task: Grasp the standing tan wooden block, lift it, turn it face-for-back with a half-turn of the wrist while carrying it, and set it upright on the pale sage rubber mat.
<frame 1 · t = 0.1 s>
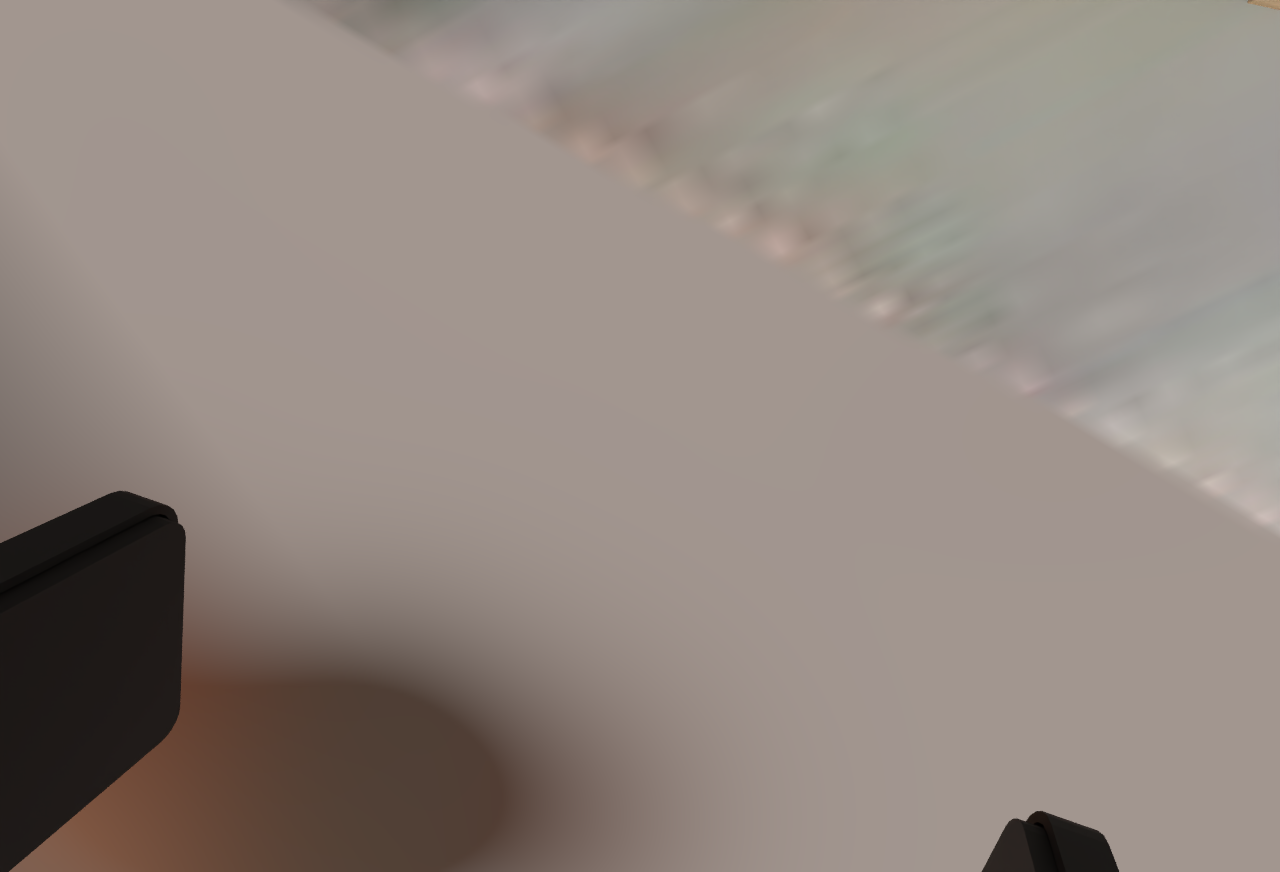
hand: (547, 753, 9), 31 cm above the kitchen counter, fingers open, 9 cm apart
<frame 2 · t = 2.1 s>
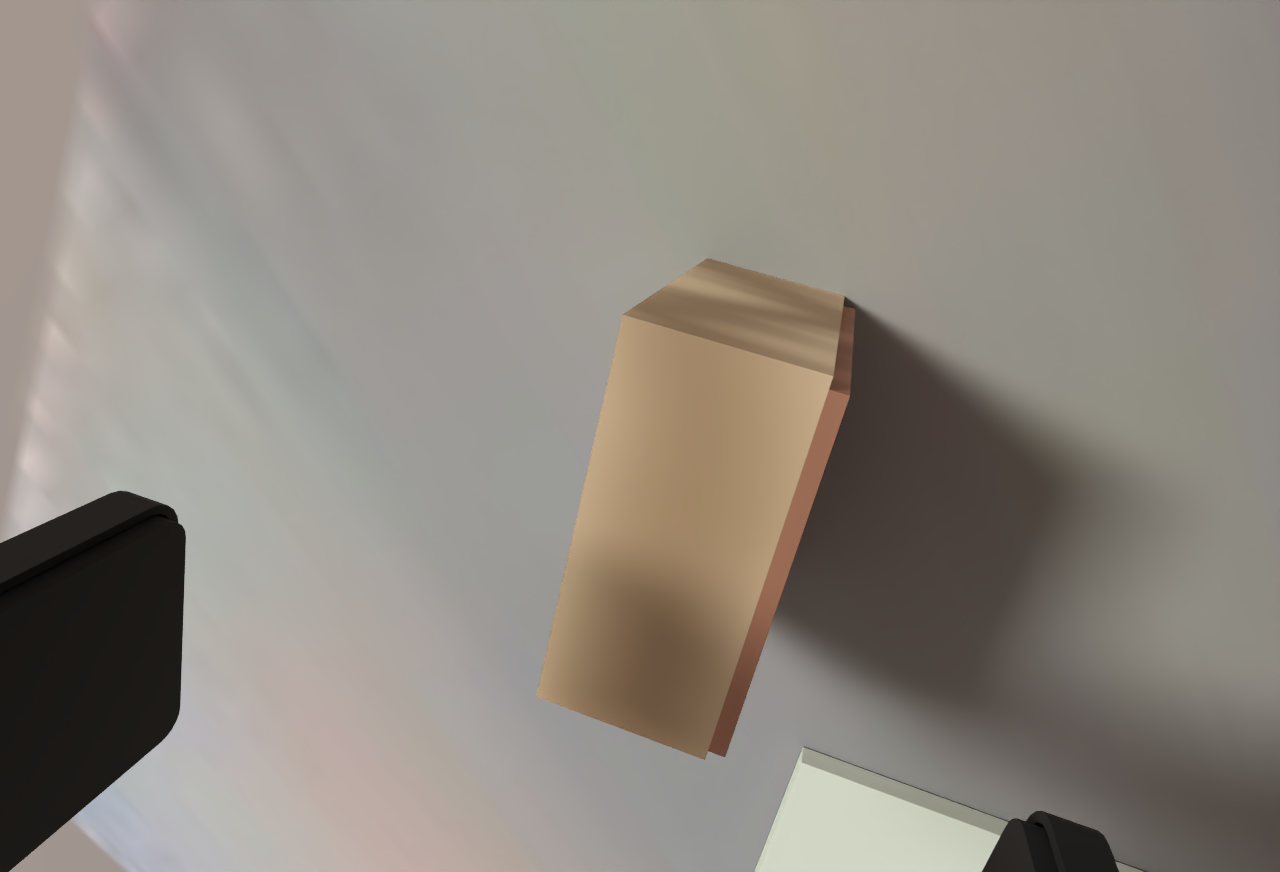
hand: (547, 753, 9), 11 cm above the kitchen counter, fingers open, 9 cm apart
tan wooden block: (809, 445, 19), on the kitchen counter
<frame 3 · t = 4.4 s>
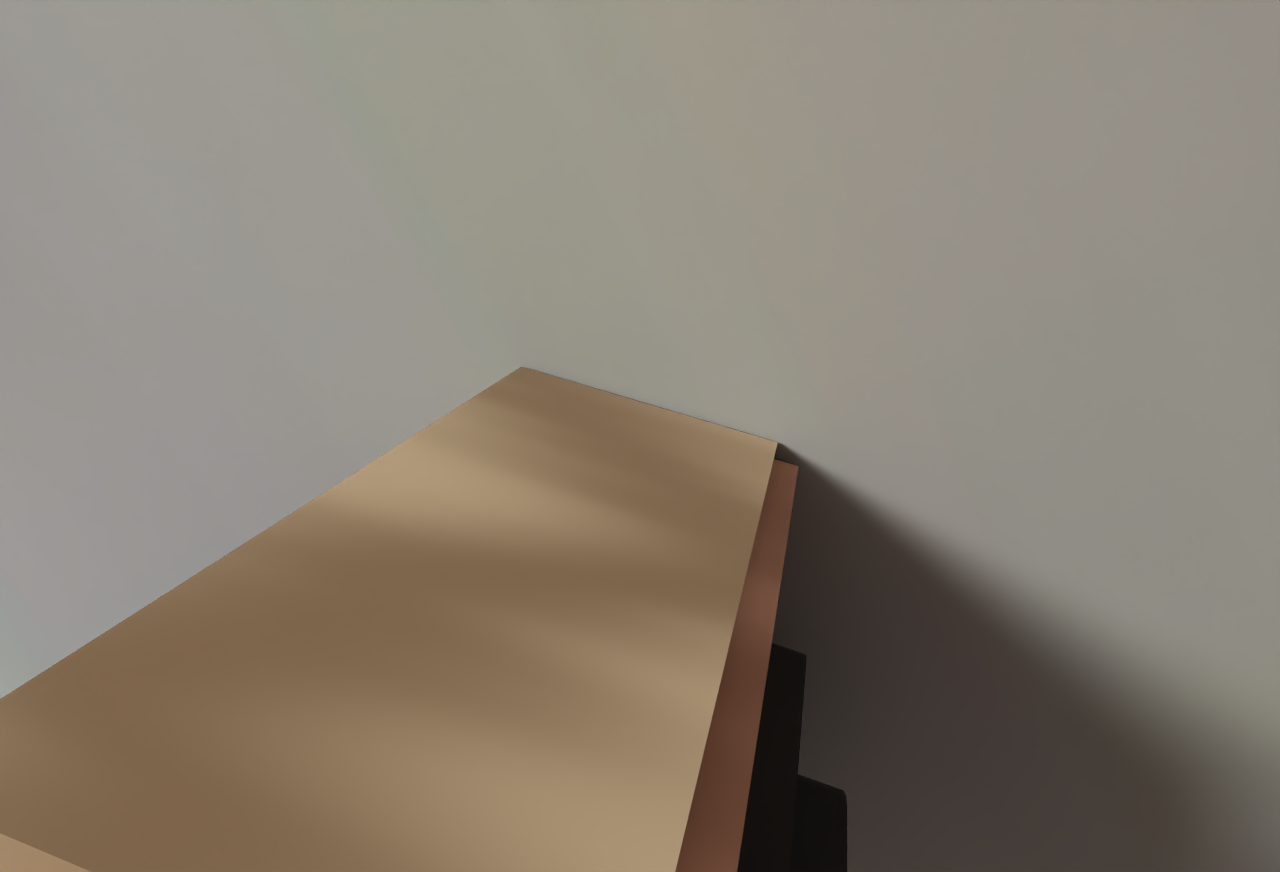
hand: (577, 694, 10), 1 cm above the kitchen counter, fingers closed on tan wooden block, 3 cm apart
tan wooden block: (723, 698, 10), on the kitchen counter, touching gripper
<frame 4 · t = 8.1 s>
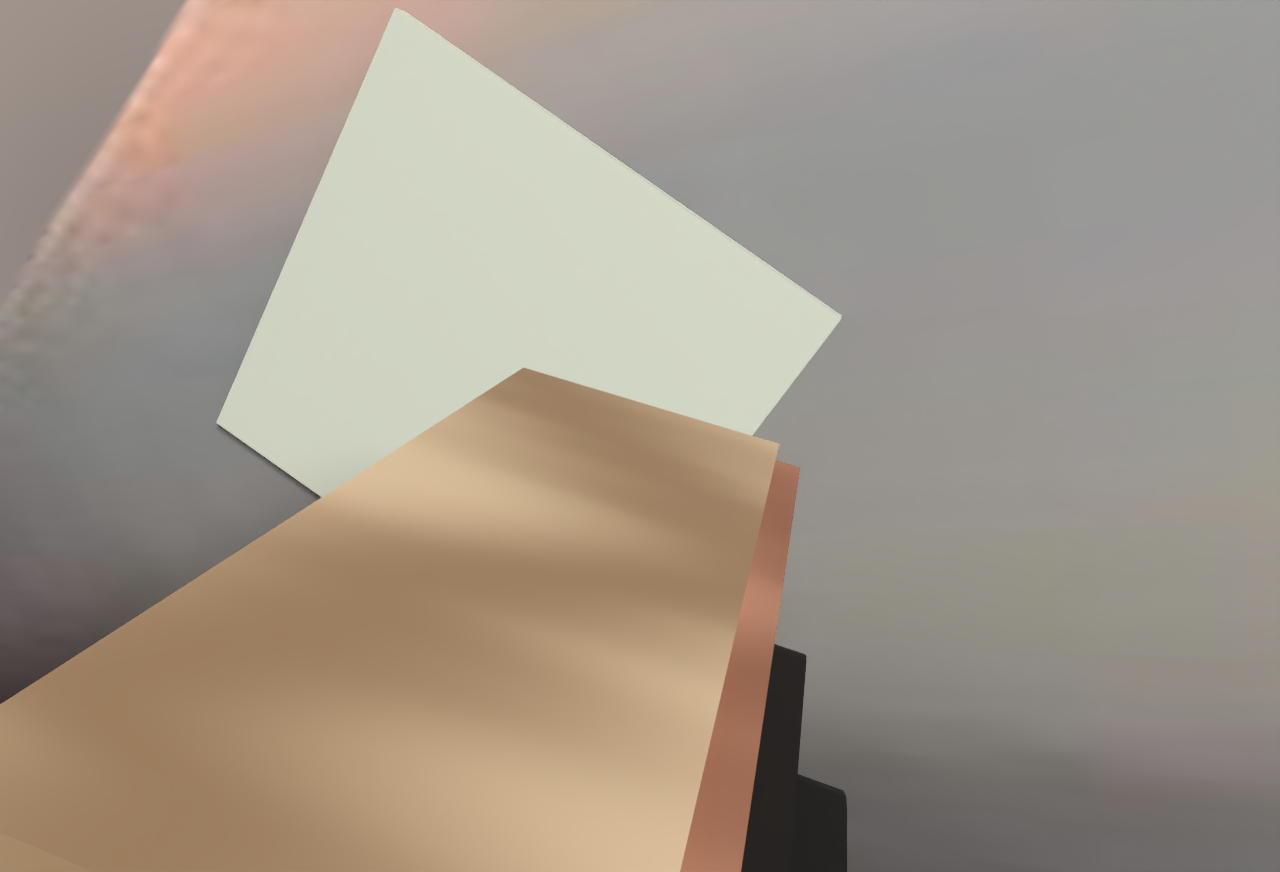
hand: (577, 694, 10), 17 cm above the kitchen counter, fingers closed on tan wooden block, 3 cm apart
tan wooden block: (724, 699, 10), point 16 cm above the kitchen counter, touching gripper
mat: (499, 372, 28), on the kitchen counter
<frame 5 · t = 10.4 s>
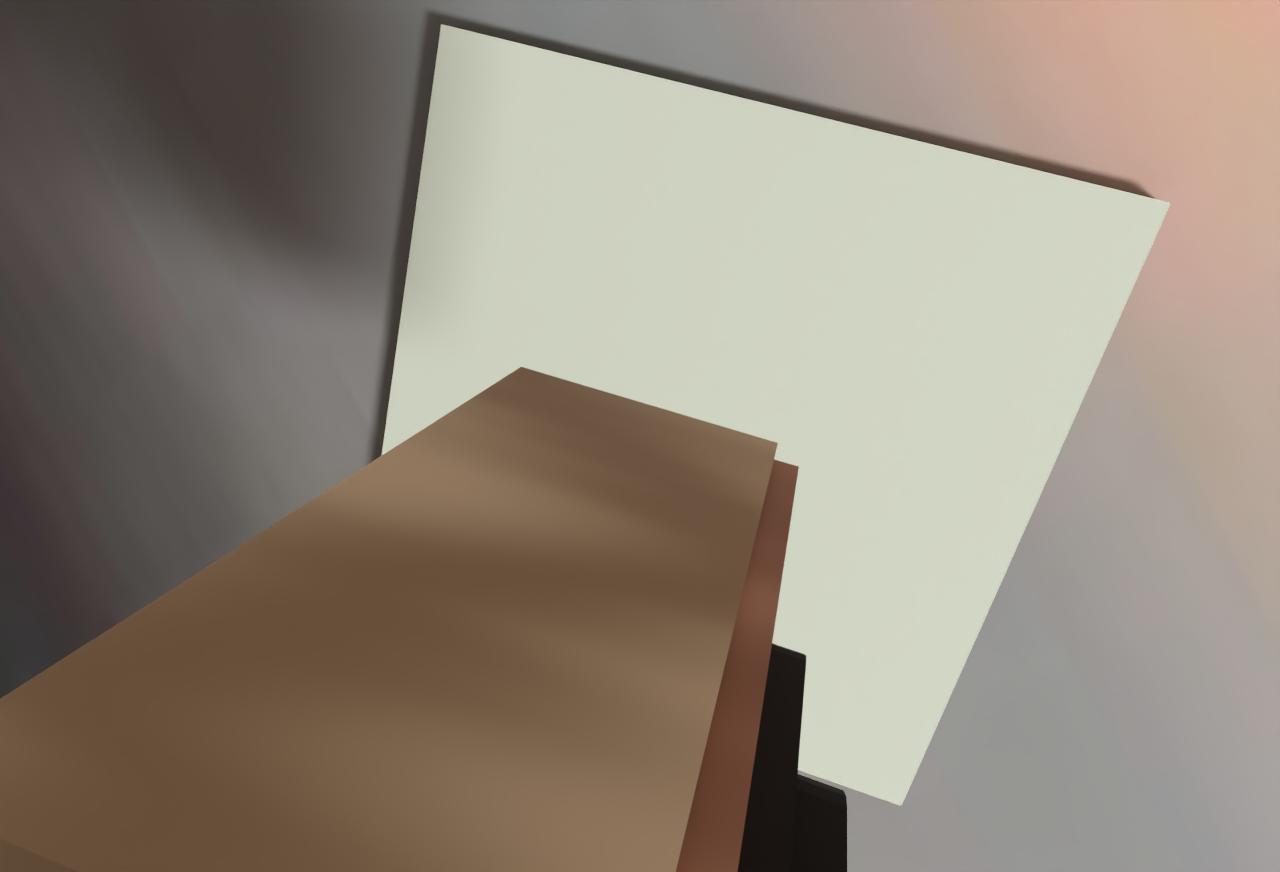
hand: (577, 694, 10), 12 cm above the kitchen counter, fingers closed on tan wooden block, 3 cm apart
tan wooden block: (723, 699, 10), point 11 cm above the kitchen counter, touching gripper
mat: (694, 440, 21), on the kitchen counter
when the fingers open (2 cm above the kitchen counter, at t = 12.2 s): tan wooden block stays where it is, resting on mat.
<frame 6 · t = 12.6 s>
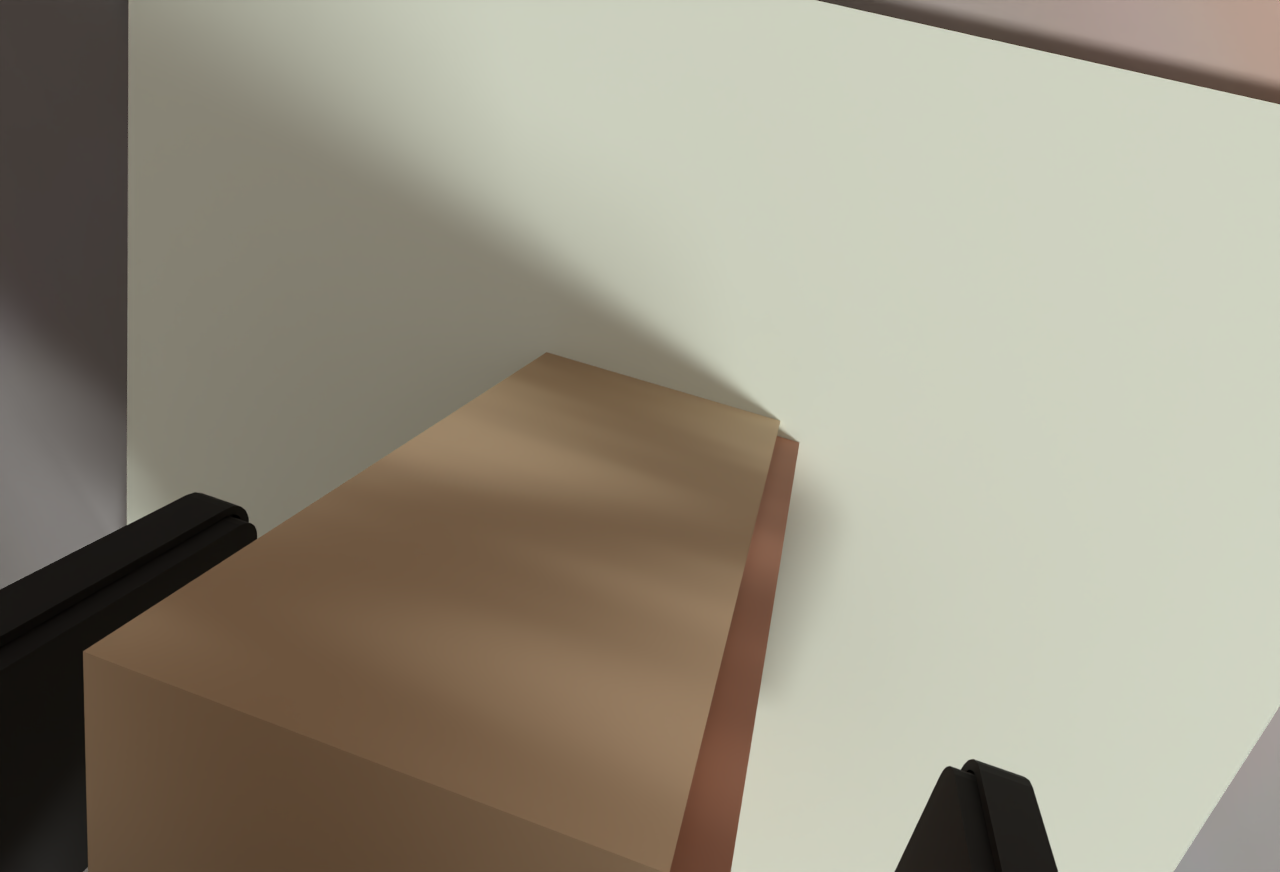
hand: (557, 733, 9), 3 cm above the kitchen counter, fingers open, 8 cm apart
tan wooden block: (729, 658, 11), point 1 cm above the kitchen counter, touching mat
mat: (626, 595, 12), on the kitchen counter
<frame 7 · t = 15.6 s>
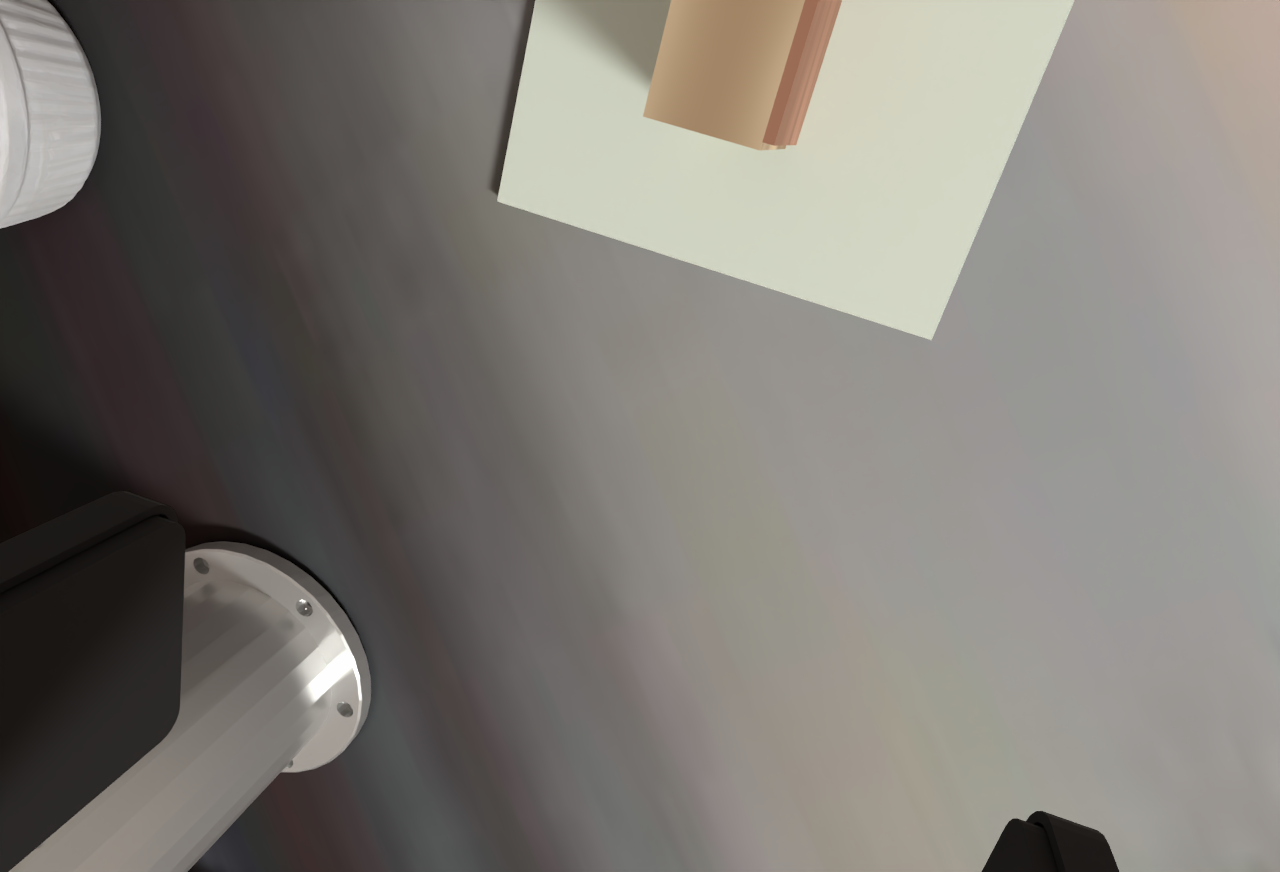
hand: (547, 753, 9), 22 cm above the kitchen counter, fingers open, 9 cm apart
tan wooden block: (830, 35, 25), point 1 cm above the kitchen counter, touching mat
mat: (781, 22, 26), on the kitchen counter
ramekin: (20, 94, 35), on the kitchen counter
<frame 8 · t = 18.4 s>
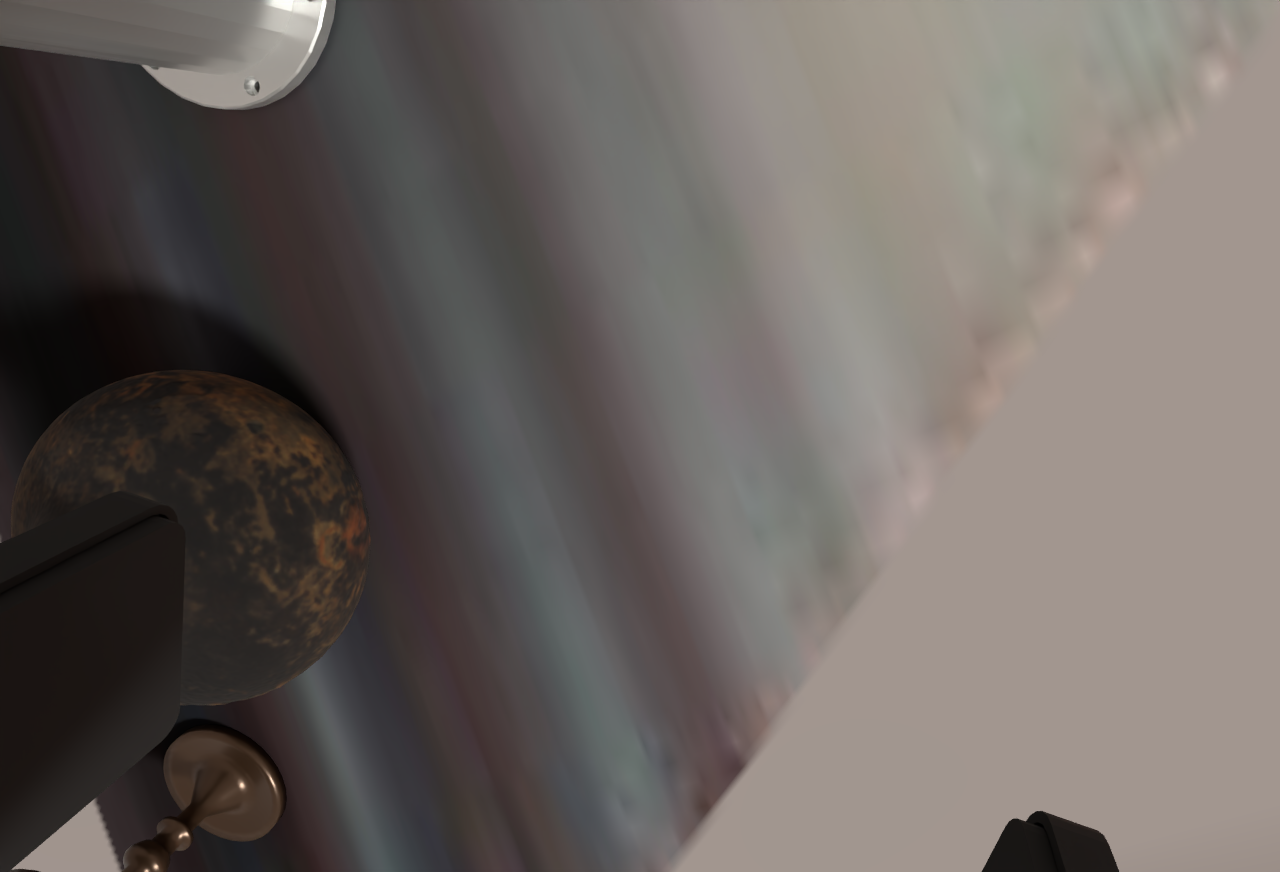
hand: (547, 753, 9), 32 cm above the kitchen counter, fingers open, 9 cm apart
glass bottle: (279, 490, 49), on the kitchen counter
candlestick: (231, 777, 58), on the kitchen counter
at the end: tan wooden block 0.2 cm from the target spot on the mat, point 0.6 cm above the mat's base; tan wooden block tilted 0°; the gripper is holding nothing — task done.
